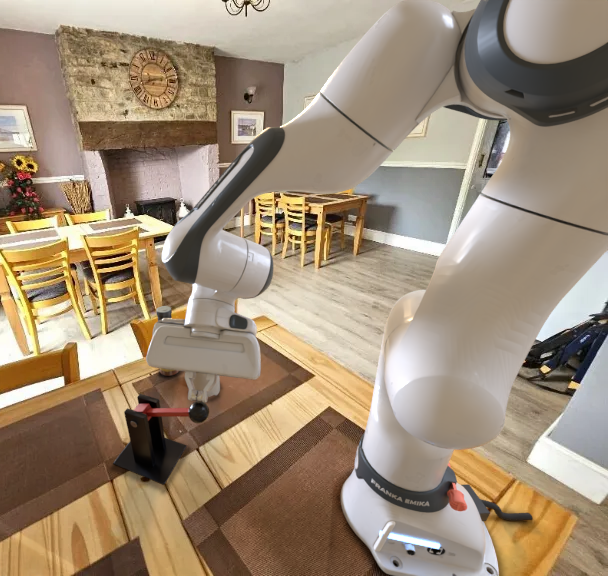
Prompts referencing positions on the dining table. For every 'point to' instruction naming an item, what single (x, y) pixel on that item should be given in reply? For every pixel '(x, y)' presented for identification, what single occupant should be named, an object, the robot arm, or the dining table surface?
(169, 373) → the sauce bottle
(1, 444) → the dining table surface
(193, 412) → the lever
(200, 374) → the travel mug
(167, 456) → the bracket
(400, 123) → the robot arm
